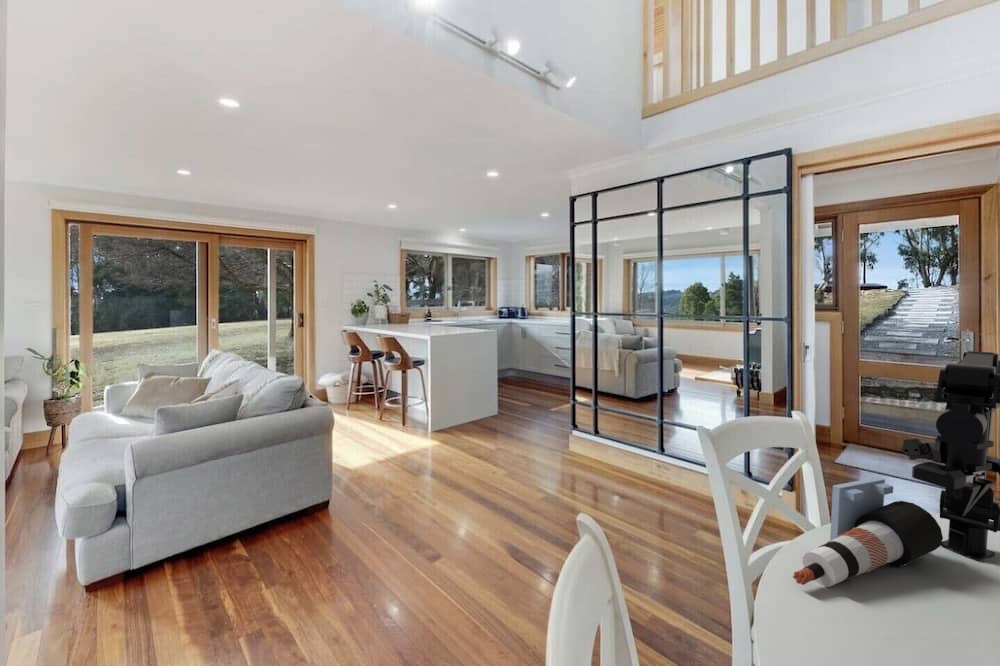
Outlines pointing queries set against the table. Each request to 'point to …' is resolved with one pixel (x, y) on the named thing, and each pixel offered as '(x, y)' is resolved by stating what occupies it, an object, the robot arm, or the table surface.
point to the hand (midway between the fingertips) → (959, 515)
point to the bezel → (855, 502)
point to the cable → (873, 544)
